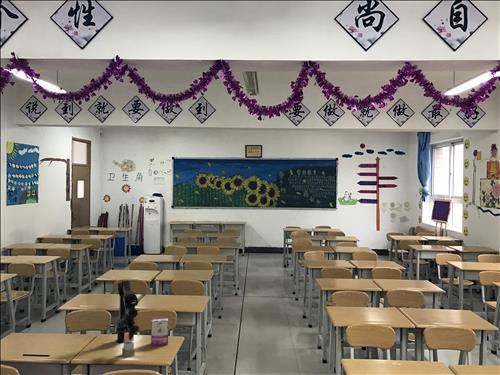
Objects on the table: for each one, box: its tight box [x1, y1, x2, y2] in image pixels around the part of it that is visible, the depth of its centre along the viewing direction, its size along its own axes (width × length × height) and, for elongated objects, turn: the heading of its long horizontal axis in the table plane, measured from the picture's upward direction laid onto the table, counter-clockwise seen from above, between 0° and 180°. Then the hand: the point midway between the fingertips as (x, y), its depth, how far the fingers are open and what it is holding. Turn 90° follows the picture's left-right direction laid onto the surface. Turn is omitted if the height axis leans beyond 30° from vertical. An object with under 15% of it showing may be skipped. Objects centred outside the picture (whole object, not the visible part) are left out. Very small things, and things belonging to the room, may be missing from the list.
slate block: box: [122, 341, 135, 351], centre depth 275 cm, size 5×5×4 cm
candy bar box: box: [150, 318, 169, 346], centre depth 295 cm, size 11×5×16 cm, turn 101°
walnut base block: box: [121, 347, 136, 358], centre depth 275 cm, size 6×6×4 cm
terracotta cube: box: [124, 332, 135, 342], centre depth 275 cm, size 4×4×4 cm
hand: (129, 338), depth 275 cm, fingers closed on terracotta cube, 4 cm apart
